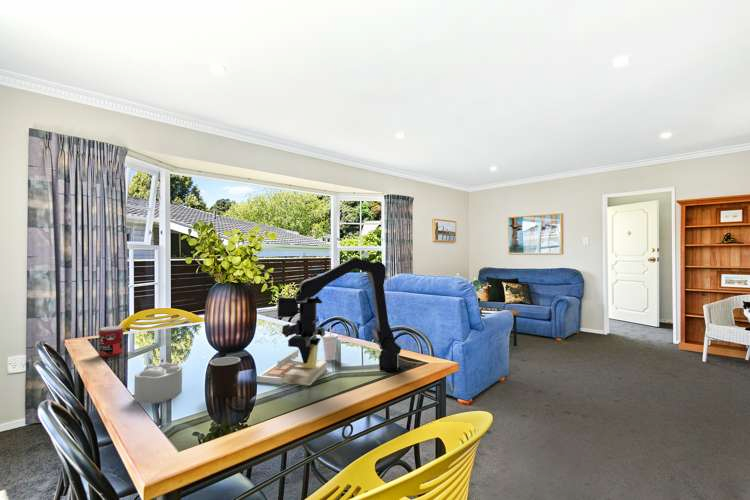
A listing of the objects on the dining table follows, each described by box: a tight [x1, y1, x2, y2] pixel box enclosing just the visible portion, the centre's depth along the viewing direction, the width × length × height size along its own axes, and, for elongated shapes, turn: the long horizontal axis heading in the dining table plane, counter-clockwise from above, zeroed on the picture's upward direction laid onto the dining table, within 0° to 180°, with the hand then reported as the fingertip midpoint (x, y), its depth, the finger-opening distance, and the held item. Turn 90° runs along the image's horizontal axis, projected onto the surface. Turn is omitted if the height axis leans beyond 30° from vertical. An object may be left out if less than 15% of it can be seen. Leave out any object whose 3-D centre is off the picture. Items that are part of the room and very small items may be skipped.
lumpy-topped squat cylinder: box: [133, 361, 183, 404], centre depth 109 cm, size 10×13×9 cm
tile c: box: [267, 370, 284, 377], centre depth 122 cm, size 4×4×2 cm
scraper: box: [276, 344, 319, 369], centre depth 126 cm, size 10×15×7 cm
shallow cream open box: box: [283, 360, 328, 386], centre depth 126 cm, size 9×16×3 cm, turn 168°
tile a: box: [286, 363, 296, 369], centre depth 133 cm, size 4×4×2 cm
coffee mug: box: [209, 356, 241, 399], centre depth 111 cm, size 12×9×10 cm
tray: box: [256, 363, 285, 386], centre depth 128 cm, size 9×19×2 cm, turn 168°
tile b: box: [275, 365, 290, 374], centre depth 128 cm, size 4×4×2 cm
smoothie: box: [321, 323, 339, 362], centre depth 145 cm, size 6×6×14 cm
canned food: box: [98, 325, 124, 358], centre depth 150 cm, size 8×8×11 cm
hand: (307, 361), depth 126 cm, fingers closed on scraper, 3 cm apart
